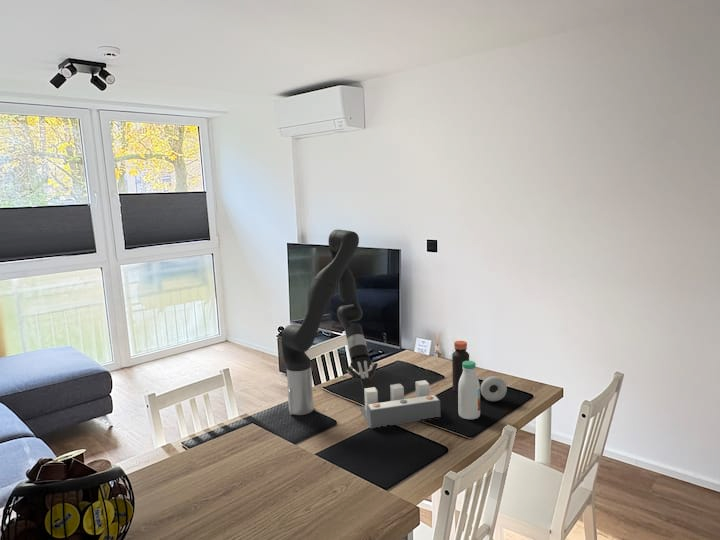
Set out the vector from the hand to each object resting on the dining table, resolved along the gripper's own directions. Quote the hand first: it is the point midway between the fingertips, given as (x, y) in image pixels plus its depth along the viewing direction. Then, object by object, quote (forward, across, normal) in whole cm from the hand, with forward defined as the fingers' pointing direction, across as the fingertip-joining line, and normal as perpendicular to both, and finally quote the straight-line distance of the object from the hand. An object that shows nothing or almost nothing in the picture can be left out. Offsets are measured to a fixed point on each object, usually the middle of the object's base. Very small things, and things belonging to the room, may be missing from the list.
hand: (366, 388), depth 189 cm
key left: (+9, 0, -2) cm, 9 cm away
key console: (+12, +10, -2) cm, 16 cm away
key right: (+9, +20, -1) cm, 22 cm away
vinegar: (+4, +40, +8) cm, 41 cm away
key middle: (+9, +10, -1) cm, 13 cm away
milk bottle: (+19, +33, -8) cm, 39 cm away
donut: (+14, +47, -2) cm, 49 cm away
